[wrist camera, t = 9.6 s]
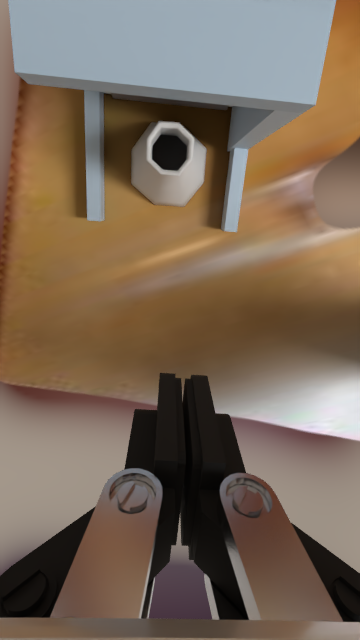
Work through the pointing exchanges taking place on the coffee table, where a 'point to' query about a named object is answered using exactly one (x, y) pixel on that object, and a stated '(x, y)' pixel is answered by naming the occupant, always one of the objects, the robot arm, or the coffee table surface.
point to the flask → (168, 164)
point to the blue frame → (178, 65)
